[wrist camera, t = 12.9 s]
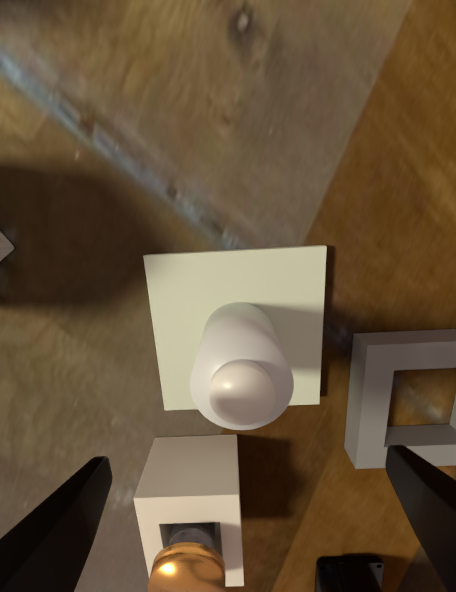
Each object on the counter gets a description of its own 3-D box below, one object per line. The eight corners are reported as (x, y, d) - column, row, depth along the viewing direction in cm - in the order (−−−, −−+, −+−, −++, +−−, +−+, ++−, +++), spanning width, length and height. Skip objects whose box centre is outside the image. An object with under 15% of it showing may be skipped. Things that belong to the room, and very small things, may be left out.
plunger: (228, 517, 21) (227, 613, 16) (172, 519, 21) (153, 615, 16) (224, 473, 20) (223, 561, 15) (165, 475, 20) (142, 563, 15)
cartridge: (273, 365, 18) (296, 441, 12) (206, 368, 19) (191, 444, 12) (273, 300, 17) (299, 345, 11) (201, 303, 17) (182, 349, 11)
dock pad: (314, 395, 20) (319, 404, 19) (167, 401, 20) (164, 410, 20) (321, 245, 17) (326, 246, 16) (148, 254, 17) (143, 255, 16)
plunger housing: (241, 512, 24) (243, 585, 19) (167, 515, 24) (151, 588, 19) (236, 434, 21) (238, 494, 16) (155, 437, 21) (133, 498, 17)
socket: (469, 442, 21) (493, 463, 19) (344, 447, 22) (355, 468, 20) (496, 326, 19) (527, 338, 17) (353, 333, 19) (367, 345, 17)
